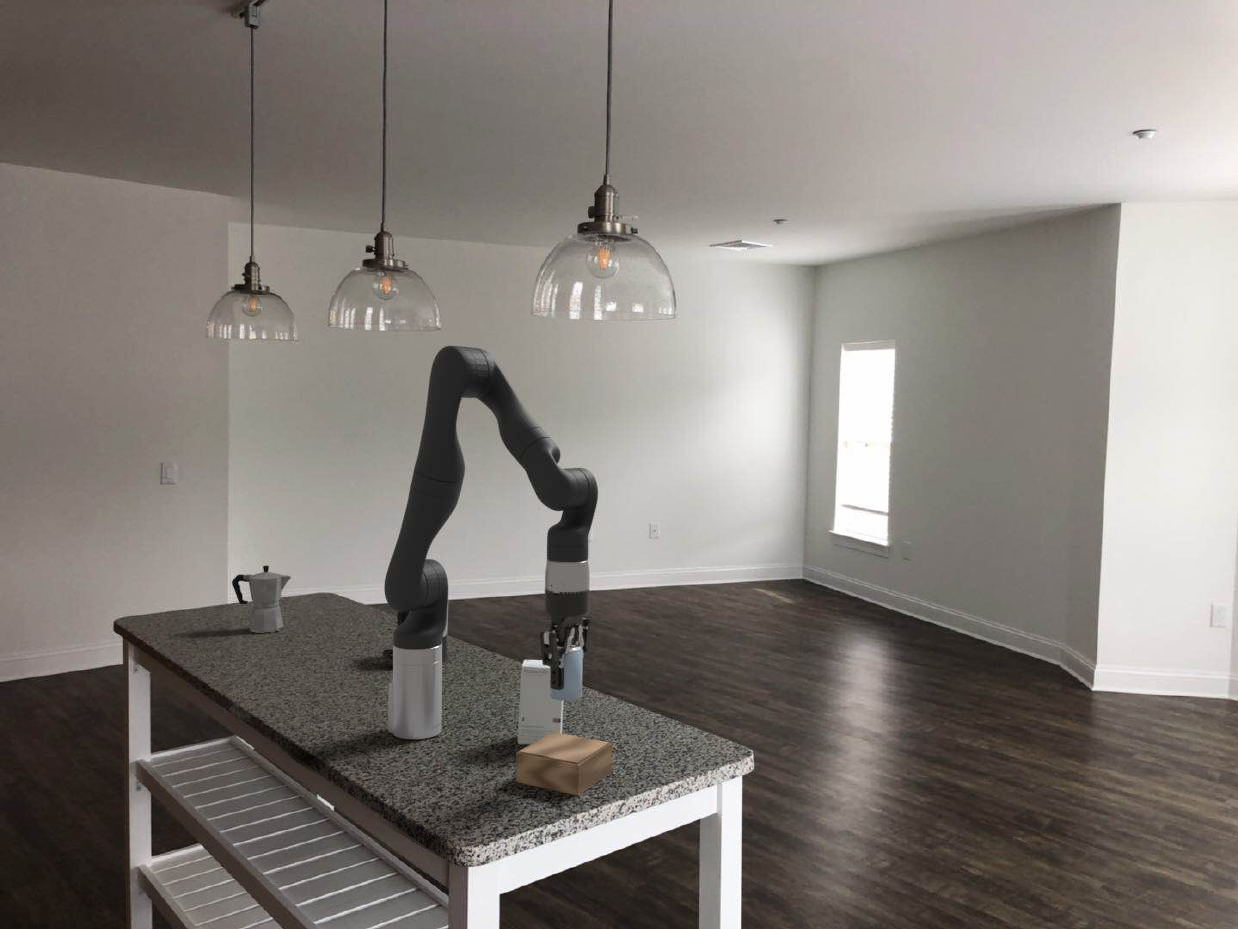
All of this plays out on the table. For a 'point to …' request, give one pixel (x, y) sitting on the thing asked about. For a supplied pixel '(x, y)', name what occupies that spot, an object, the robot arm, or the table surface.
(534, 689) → the skincare box
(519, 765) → the cardboard box
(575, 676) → the canister
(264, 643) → the table surface
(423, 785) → the table surface
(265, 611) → the coffeepot
